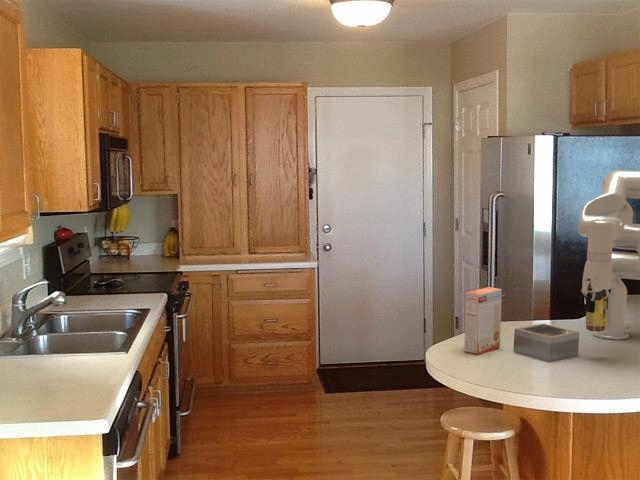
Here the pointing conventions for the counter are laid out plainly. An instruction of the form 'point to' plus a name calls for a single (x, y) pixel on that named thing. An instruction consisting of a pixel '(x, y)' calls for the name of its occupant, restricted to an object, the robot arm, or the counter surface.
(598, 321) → the sauce bottle
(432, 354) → the counter surface
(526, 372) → the counter surface
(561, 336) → the grey square tray
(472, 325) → the cracker box
